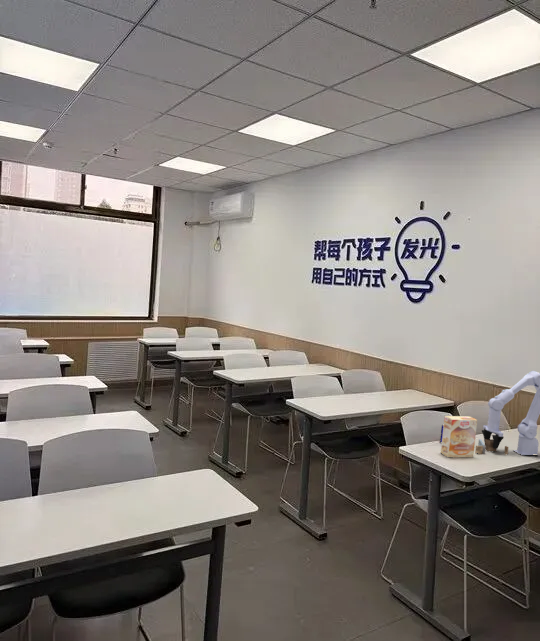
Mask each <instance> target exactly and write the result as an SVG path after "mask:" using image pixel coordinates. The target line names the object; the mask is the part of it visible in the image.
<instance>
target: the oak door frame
mask: <svg viewBox="0 0 540 641" xmlns="http://www.w3.org/2000/svg"><path fill="white" fill-rule="evenodd" d="M503 450H504V451H503V453H505V454H504V455H506V454H509V446H507V445H505V446H504V449H503ZM482 451H483V446H478V445H475V450H474V452H475V453H474V454H476V453H478V454H477V455H482V454H483V453H482Z"/></svg>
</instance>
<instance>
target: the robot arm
mask: <svg viewBox="0 0 540 641" xmlns="http://www.w3.org/2000/svg"><path fill="white" fill-rule="evenodd" d="M527 386H533V387H534V388H535V390H536V391H535V394H534V396H533V399H532V401H531V404H530V406H529V408H528V411H527V413H526V417H525V418H523V419H522V420H521V422H520V423H519V424H518V425H517V431H518V439H517V440H518V441H517V449H514V450H513V452H514V451H515V452H514V453H516V452H517V453H516V454H518V453H519V454H518V455H520V454H521V456H522V455H533V454H537V455H539V454H538V452H539V444H540V443H539V441H538V439H537V438H536V436H537V434H538V432H537V429H538V419H539V416H540V372H538V371H536V370H531V371H529V372H528V373H526V374H525V375H523V377H522V378H521V379H520V380H519V381H518V382H516V383H515V384H513V386H512V387H511V388H509V389H508V388H506V389H503V390H501V392H500V393H499V394H498V395H495V396H494V397H492V398H490V399H489V400H488V402H487V405H488V407H489V410H488V415H487V416H488V417H487V418H488V419H487V424H486V425H484V424H483V425H482V426H483V427H482V430H481V432H482V435H483V443H485V439H491V437H492V439H493V448H494V449H499V446H500V444H501V442H502V440H504V439H505V438H504V432H502V431H501V430H500V422H501V413H502V412H501V411H502V410H503V409H504V407H505V405H507V404H508V403H509V402H510V401H511V400H513V399H514V398H515V394H518V392H520V391H522V390H523V389H524V388H526V387H527Z"/></svg>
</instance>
